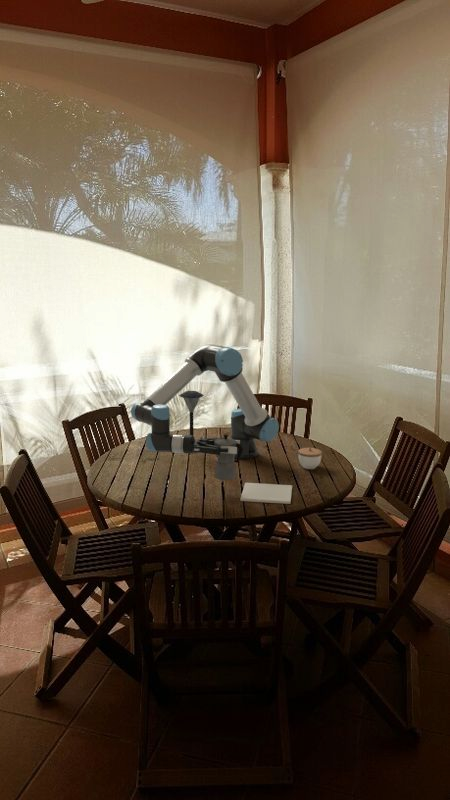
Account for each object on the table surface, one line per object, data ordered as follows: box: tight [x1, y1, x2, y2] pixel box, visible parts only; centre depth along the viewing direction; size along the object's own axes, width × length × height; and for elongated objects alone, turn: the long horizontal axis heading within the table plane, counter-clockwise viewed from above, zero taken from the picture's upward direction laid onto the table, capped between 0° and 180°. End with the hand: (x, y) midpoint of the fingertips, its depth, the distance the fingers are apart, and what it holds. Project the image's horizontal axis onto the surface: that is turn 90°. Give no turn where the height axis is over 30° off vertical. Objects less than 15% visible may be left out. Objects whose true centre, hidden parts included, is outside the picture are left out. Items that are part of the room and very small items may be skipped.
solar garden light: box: [178, 390, 205, 436], centre depth 310 cm, size 12×12×30 cm
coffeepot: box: [213, 434, 243, 481], centre depth 254 cm, size 15×9×18 cm, turn 49°
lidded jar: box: [298, 447, 323, 470], centre depth 289 cm, size 11×11×9 cm
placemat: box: [239, 482, 293, 505], centre depth 256 cm, size 18×20×1 cm
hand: (238, 446), depth 253 cm, fingers closed on coffeepot, 8 cm apart
